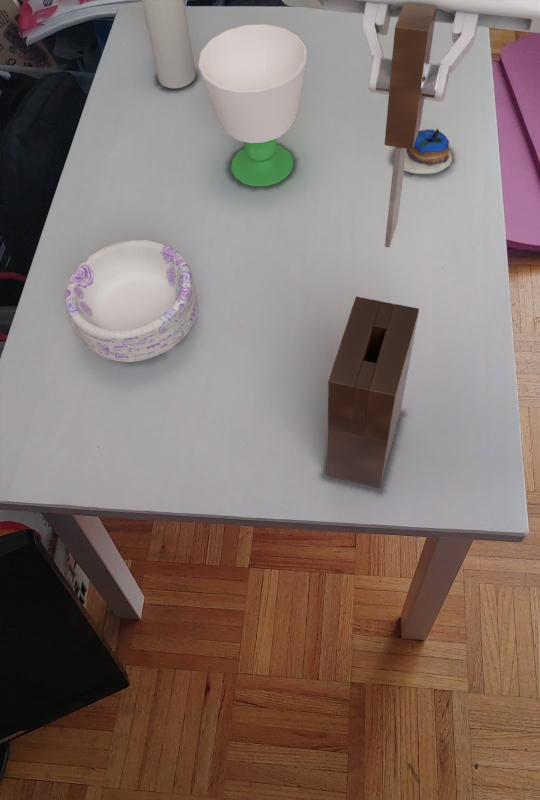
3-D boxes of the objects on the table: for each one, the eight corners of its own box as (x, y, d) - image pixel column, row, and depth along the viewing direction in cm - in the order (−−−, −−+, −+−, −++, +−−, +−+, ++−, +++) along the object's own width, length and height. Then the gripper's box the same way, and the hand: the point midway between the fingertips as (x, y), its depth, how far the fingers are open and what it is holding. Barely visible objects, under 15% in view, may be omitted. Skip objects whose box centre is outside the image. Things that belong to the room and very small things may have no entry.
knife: (374, 245, 56) (393, 29, 41) (383, 219, 58) (404, -1, 43) (399, 249, 56) (427, 32, 41) (407, 223, 57) (437, 3, 42)
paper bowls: (71, 305, 91) (50, 260, 84) (181, 268, 93) (170, 222, 86) (99, 394, 84) (79, 354, 77) (218, 353, 86) (209, 310, 79)
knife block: (326, 475, 77) (328, 381, 61) (349, 402, 82) (355, 296, 66) (380, 488, 76) (395, 396, 60) (400, 413, 80) (419, 308, 64)
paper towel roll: (187, 92, 110) (159, -64, 91) (152, 86, 111) (117, -68, 92) (204, 64, 113) (180, -92, 94) (170, 59, 114) (139, -97, 95)
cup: (203, 192, 99) (184, 86, 85) (229, 129, 105) (214, 19, 91) (298, 203, 97) (293, 96, 83) (318, 138, 103) (317, 27, 89)
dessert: (464, 145, 99) (455, 128, 93) (443, 191, 100) (433, 177, 95) (414, 130, 102) (403, 113, 96) (394, 175, 103) (382, 160, 98)
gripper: (633, -128, 42) (563, 126, 46) (304, -149, 46) (270, 87, 50) (660, -191, 36) (577, 106, 41) (281, -209, 40) (245, 64, 45)
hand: (405, 95), depth 46 cm, fingers closed on knife, 2 cm apart
